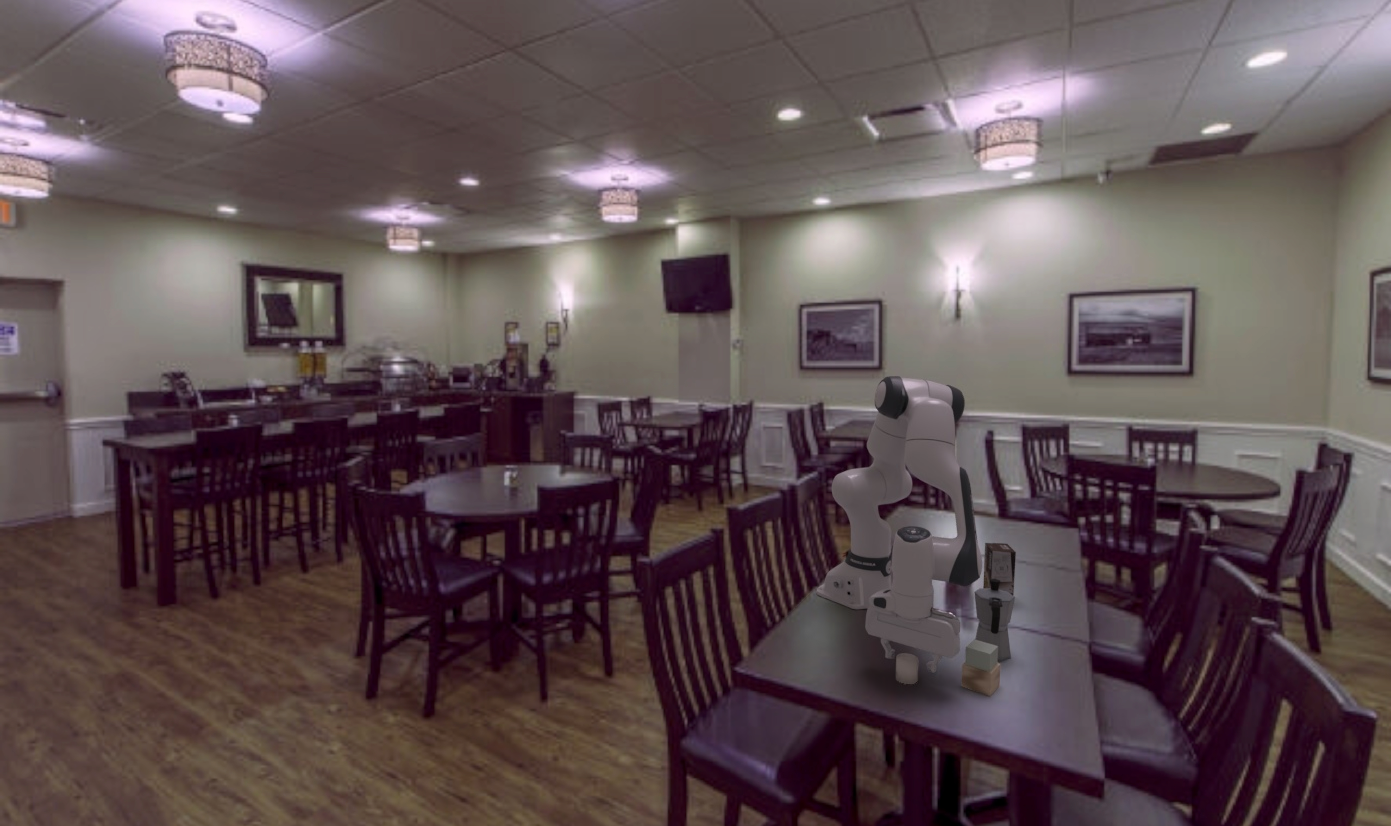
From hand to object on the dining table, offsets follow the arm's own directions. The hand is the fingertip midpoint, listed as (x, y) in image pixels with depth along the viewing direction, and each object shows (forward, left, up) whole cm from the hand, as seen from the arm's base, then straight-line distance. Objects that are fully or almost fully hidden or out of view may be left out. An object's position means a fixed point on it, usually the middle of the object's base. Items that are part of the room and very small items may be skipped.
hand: (910, 664), depth 144 cm
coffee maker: (+9, +25, -4) cm, 27 cm away
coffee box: (-1, +61, -4) cm, 61 cm away
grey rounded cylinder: (-1, 0, -4) cm, 4 cm away
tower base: (+12, +8, -4) cm, 15 cm away
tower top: (+12, +8, +1) cm, 15 cm away
